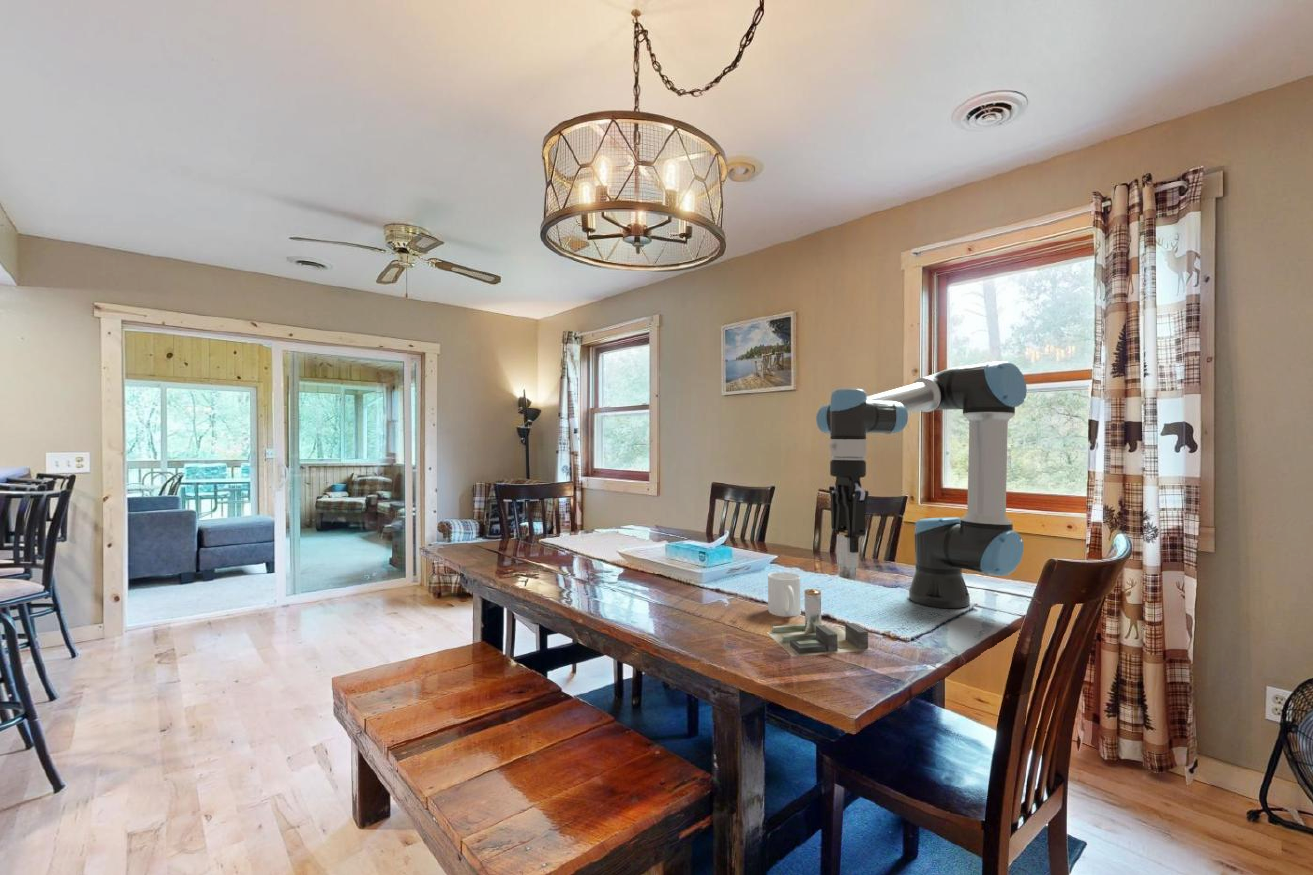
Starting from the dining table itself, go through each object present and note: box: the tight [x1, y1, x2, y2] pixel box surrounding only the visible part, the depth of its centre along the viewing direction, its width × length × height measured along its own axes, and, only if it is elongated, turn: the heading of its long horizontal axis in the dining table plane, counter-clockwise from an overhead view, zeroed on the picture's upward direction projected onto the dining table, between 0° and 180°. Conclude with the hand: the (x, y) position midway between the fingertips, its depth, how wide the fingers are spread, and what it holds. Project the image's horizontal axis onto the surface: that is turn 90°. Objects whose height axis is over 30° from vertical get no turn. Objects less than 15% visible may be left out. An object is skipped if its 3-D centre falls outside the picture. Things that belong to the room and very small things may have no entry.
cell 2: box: [838, 530, 857, 580], centre depth 125 cm, size 4×4×10 cm
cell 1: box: [804, 588, 822, 634], centre depth 129 cm, size 4×4×10 cm
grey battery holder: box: [765, 622, 873, 658], centre depth 125 cm, size 18×15×4 cm
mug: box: [767, 571, 802, 618], centre depth 145 cm, size 12×8×10 cm
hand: (847, 564), depth 125 cm, fingers closed on cell 2, 3 cm apart
